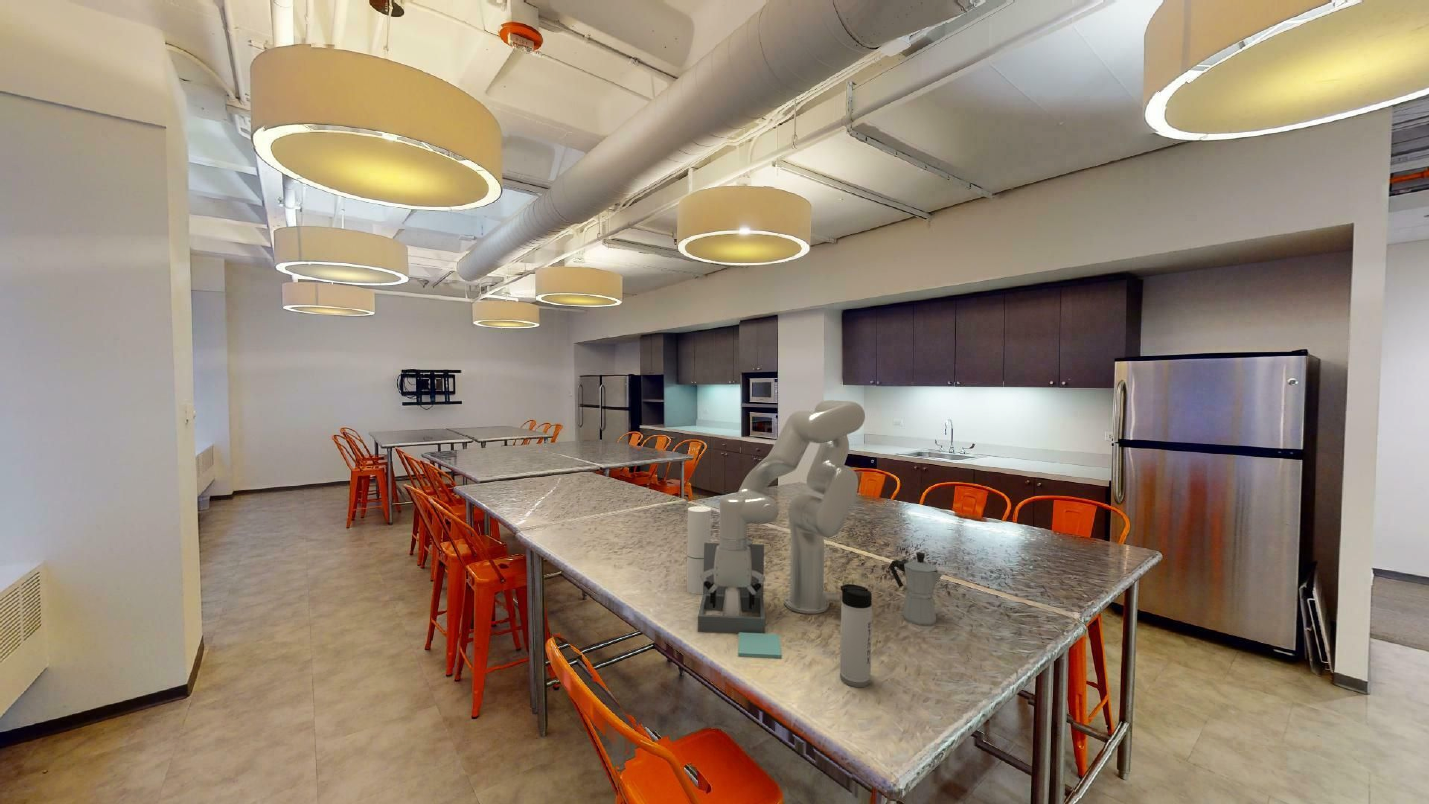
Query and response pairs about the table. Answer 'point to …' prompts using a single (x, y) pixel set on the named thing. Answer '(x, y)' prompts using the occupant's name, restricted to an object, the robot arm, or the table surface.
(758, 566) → the lid
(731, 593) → the salt shaker
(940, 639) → the table surface
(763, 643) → the pad
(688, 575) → the cylindrical container
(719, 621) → the case
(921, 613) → the coffee maker
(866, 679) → the travel mug
